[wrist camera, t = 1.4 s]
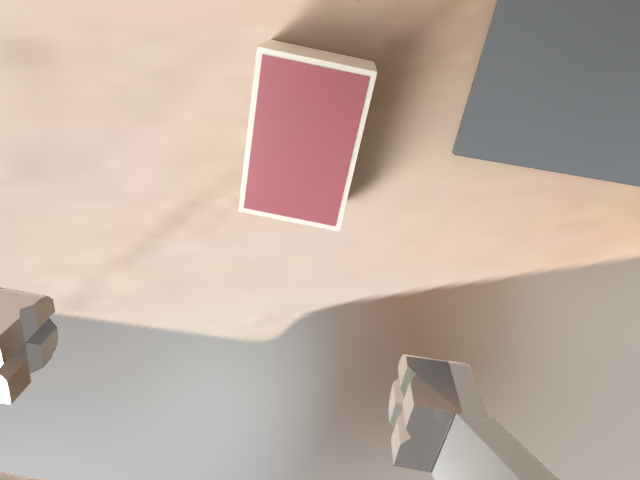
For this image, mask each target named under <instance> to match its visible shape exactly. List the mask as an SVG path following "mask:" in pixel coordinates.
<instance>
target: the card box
mask: <svg viewBox="0 0 640 480" xmlns="http://www.w3.org/2000/svg"><path fill="white" fill-rule="evenodd" d="M376 76H377V69H376V66H375V63H374V61H370V60H366V59H361V58H356V57H351V56H347V55H342V54H337V53H333V52H328V51H323V50H319V49H314V48H309V47H304V46H300V45H295V44H290V43H286V42H281V41H276V40H272V39H271V40H269V41H267V42H265V43H263V44H261V45H259V46H257V52H256V61H255V70H254V78H253V87H252V96H251V104H250V113H249V122H248V130H247V139H246V148H245V156H244V165H243V174H242V182H241V191H240V200H239V208H238V211H239V212H244V213H249V214H254V215H259V216H264V217H269V218H274V219H279V220H284V221H289V222H294V223H299V224H304V225H309V226H314V227H319V228H324V229H329V230H334V231H340V227H341V223H342V219H343V215H344V210H345V206H346V202H347V198H348V194H349V189H350V185H351V181H352V177H353V173H354V168H355V164H356V160H357V156H358V152H359V147H360V143H361V139H362V135H363V130H364V126H365V122H366V118H367V114H368V109H369V105H370V101H371V97H372V93H373V88H374V84H375V80H376Z"/></svg>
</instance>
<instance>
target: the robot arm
mask: <svg viewBox="0 0 640 480" xmlns="http://www.w3.org/2000/svg"><path fill="white" fill-rule="evenodd" d="M54 312H55V308H54V303H53V299H51V298H50V297H48V296H45V295H40V294H34V293H29V292H24V291H18V290H13V289H8V288H5V289H4V288H1V287H0V403H6V404H12V403H13V402H14V401H15V400H16V398H17V397H18V396H19V395H20V394H21V393H22V392H23V391H24V390H25V388H26V387H27V386H28V385H29V384H30V383H31V373H33V372H35V371H37V370H39V369H41V368H44V366H45V365H46V364H47V363H48V362H49V360H50V359H51V358H52V356H53V353H54V351H55V349H56V346H57V341H58V331H57V327H56V325H55V324H54V323H53V322H52V321H51V319H50V317H51V316H52V315H53V313H54ZM398 373H399V378H398V379H397V380H395V381H394V382H393V385H392V389H391V393H390V400H389V423H390V424H391V425H392V427H393V428H394V431H393V434H392V438H391V444H392V445H391V446H392V455H393V464H394V466H399V467H404V468H410V469H415V470H420V471H426V472H431V473H432V476H433V478H434V479H435V480H559V479H558V478H557V477H555V475H553V474H552V473H551V472H550V471H549V470H548V469H547V468H546V467H545V466H544V465H543V464H542V463H541V462H540V461H538V459H537V458H535V457H534V456H533V455H532V454H531V453H530V452H529V451H528V450H527V449H526V448H525V447H524V446H523V445H521V443H519V442H518V441H517V440H516V439H515V438H514V437H513V436H512V435H511V434H510V433H509V432H508V431H507V430H506V429H505V428H504V427H502V426H501V425H500V424H499V423H498V422H497V421H496V420H495V419H491V418H488V416H487V413H486V410H485V407H484V405H483V402H482V399H481V396H480V393H479V390H478V387H477V384H476V381H475V379H474V376H473V373H472V370H471V367H470V366H469V365H468V364H467V363H461V362H454V361H443V360H436V359H430V358H424V357H417V356H411V355H405V354H403V356H402V357H401V359H400V362H399V365H398ZM0 480H47V479H40V478H34V477H27V476H21V475H15V474H9V473H2V472H0Z"/></svg>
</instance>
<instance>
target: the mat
mask: <svg viewBox="0 0 640 480" xmlns="http://www.w3.org/2000/svg"><path fill="white" fill-rule="evenodd" d="M452 153H453V154H454V155H458V156H464V157H469V158H475V159H481V160H487V161H493V162H499V163H505V164H511V165H516V166H522V167H528V168H534V169H540V170H546V171H552V172H558V173H563V174H569V175H575V176H581V177H587V178H593V179H599V180H604V181H610V182H616V183H622V184H628V185H634V186H640V0H498V1H497V4H496V7H495V11H494V14H493V17H492V21H491V24H490V27H489V31H488V34H487V37H486V41H485V44H484V47H483V51H482V54H481V57H480V61H479V64H478V67H477V71H476V74H475V77H474V81H473V84H472V87H471V91H470V94H469V97H468V101H467V104H466V107H465V111H464V114H463V117H462V121H461V124H460V127H459V131H458V134H457V137H456V141H455V144H454V147H453V151H452Z"/></svg>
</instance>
